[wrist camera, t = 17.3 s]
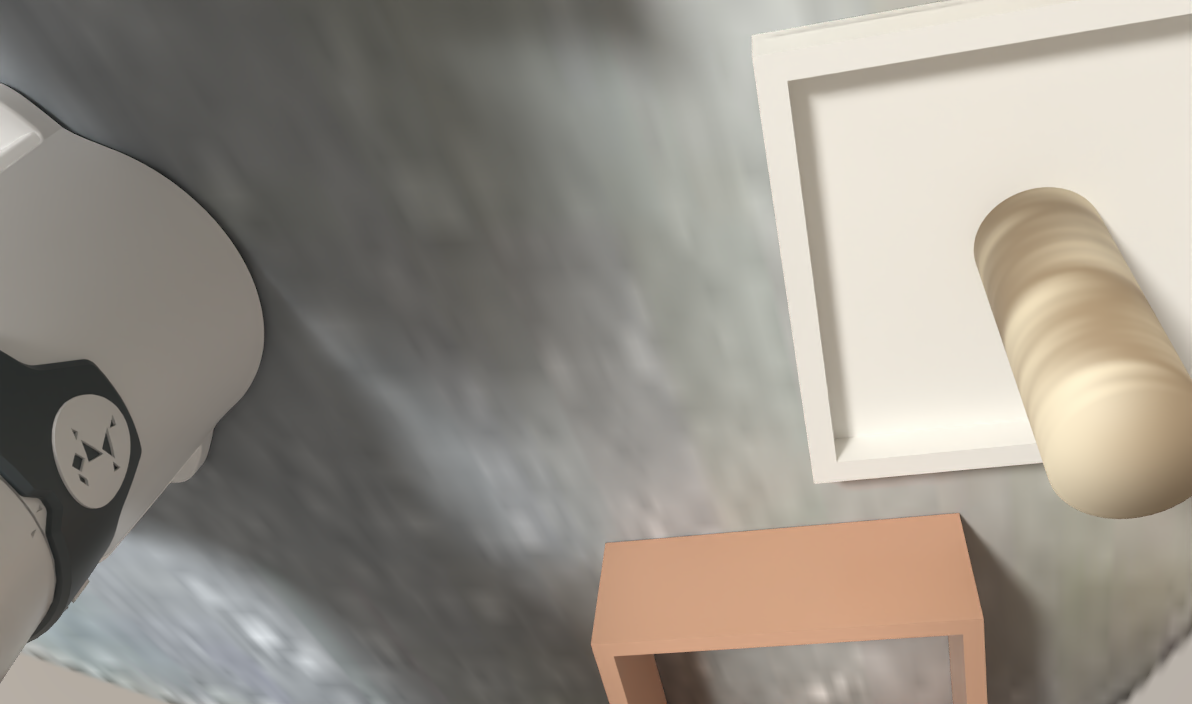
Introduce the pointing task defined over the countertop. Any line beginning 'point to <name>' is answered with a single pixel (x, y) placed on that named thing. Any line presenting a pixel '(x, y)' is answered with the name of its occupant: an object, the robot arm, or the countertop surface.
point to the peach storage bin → (787, 597)
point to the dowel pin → (1087, 356)
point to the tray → (959, 203)
